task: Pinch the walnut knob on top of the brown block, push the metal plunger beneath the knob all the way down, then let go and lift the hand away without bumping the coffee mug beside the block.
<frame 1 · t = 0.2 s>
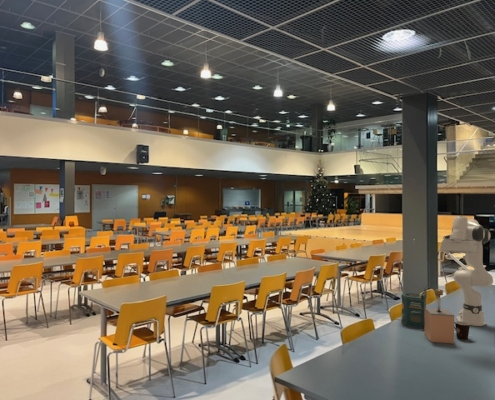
hand: (456, 258, 245), 54 cm above the table, tool tilted 25°, fingers open, 8 cm apart
donation box: (413, 323, 284), on the table
coffee mug: (461, 337, 254), on the table
plunger: (439, 303, 251), point 23 cm above the table, slide at 0.0 cm
brown block: (438, 338, 251), on the table
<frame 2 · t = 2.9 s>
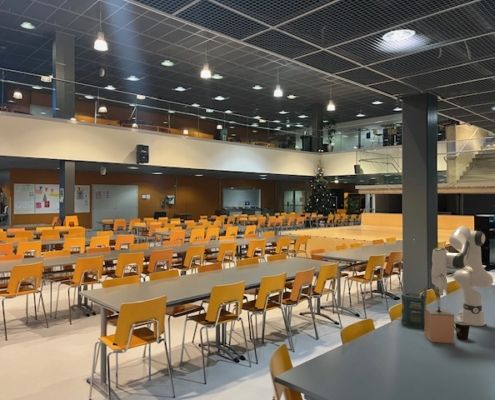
hand: (439, 293, 252), 30 cm above the table, tool pointing down, fingers closed on plunger, 4 cm apart
plunger: (439, 303, 251), point 23 cm above the table, slide at 0.0 cm, touching gripper
everything else where it was.
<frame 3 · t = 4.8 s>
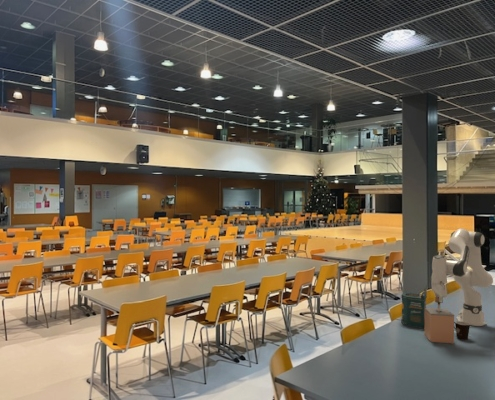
hand: (439, 301, 251), 25 cm above the table, tool pointing down, fingers closed on plunger, 4 cm apart
plunger: (438, 310, 251), point 18 cm above the table, slide at 5.0 cm, touching gripper
everything else where it was.
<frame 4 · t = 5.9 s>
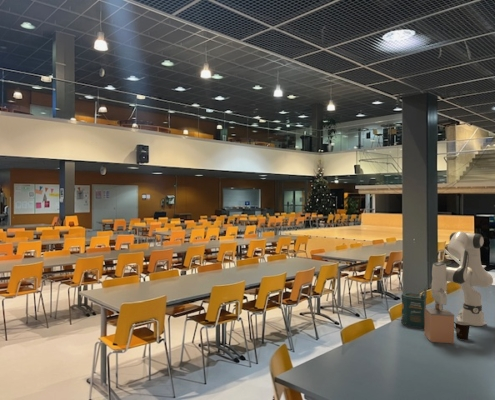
hand: (438, 308, 251), 20 cm above the table, tool pointing down, fingers closed on plunger, 4 cm apart
plunger: (438, 318, 251), point 14 cm above the table, slide at 9.7 cm, touching gripper
everything else where it was.
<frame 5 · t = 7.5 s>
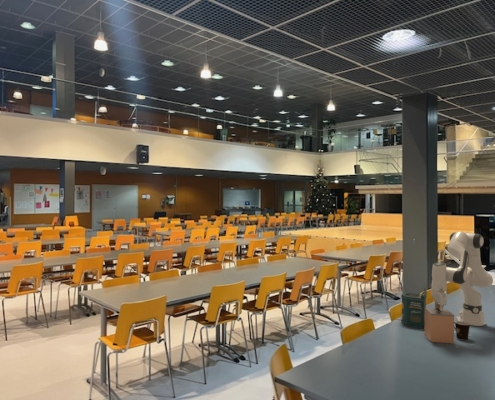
hand: (438, 308, 251), 20 cm above the table, tool pointing down, fingers open, 8 cm apart
plunger: (438, 318, 251), point 13 cm above the table, slide at 9.8 cm
everything else where it was.
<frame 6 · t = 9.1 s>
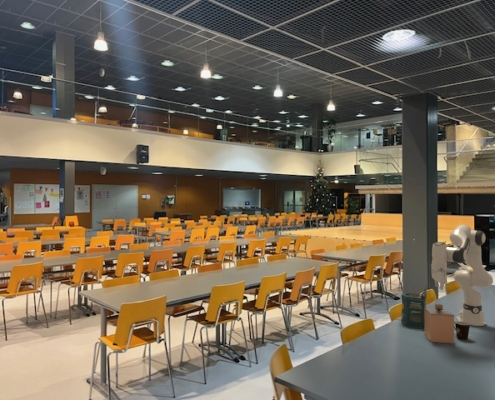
hand: (439, 288, 252), 33 cm above the table, tool pointing down, fingers open, 8 cm apart
nothing on the table moved.
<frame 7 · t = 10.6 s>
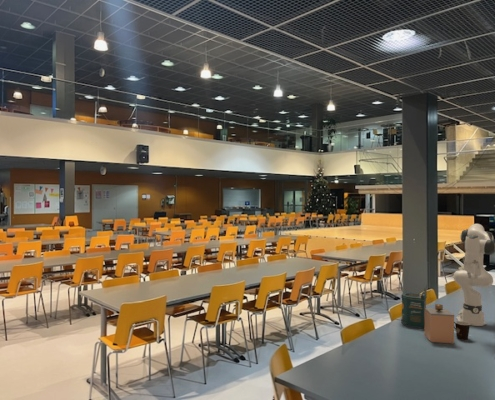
hand: (472, 279, 257), 38 cm above the table, tool pointing down, fingers open, 8 cm apart
nothing on the table moved.
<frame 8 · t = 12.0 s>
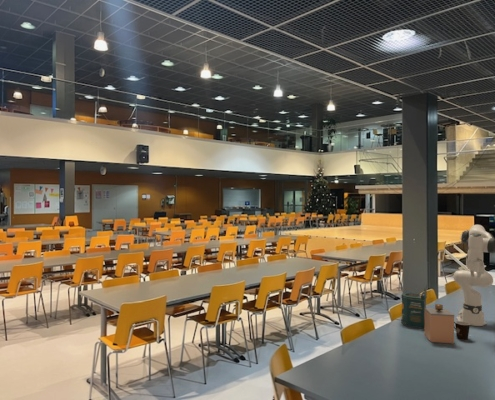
hand: (475, 278, 258), 39 cm above the table, tool pointing down, fingers open, 8 cm apart
nothing on the table moved.
at the end: plunger slide at 9.8 cm; the gripper is holding nothing; coffee mug moved 0.2 cm from its start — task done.
